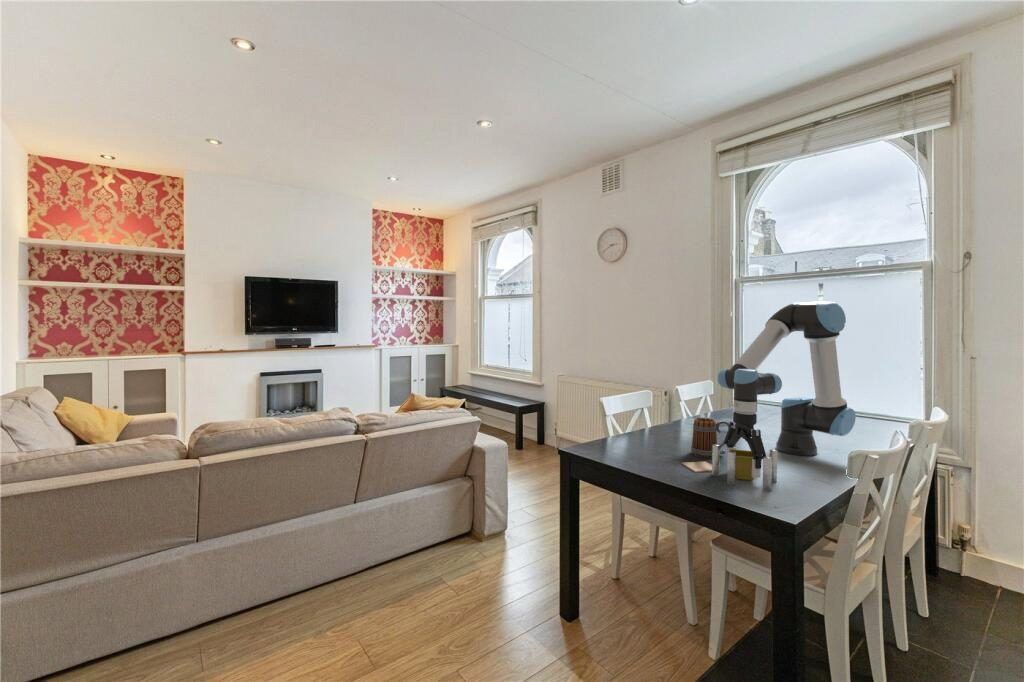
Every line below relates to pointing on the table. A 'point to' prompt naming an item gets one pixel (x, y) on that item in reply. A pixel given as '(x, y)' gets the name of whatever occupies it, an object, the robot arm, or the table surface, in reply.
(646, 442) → the table surface
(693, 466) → the cork mat
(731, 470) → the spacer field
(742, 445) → the table surface
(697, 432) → the mug
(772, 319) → the robot arm
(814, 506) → the table surface
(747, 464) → the flower pot
